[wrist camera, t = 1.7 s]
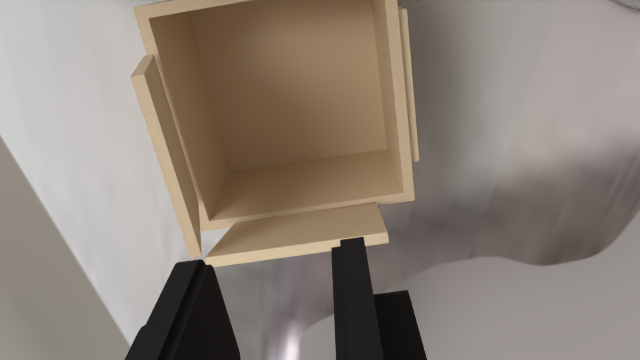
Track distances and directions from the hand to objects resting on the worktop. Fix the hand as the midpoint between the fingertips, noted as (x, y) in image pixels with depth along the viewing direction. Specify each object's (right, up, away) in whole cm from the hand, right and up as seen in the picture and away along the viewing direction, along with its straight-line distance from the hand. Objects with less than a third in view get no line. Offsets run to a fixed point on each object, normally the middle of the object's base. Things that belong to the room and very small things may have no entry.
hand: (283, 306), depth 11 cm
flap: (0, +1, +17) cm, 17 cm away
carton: (-1, +10, +22) cm, 24 cm away
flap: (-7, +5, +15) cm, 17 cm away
